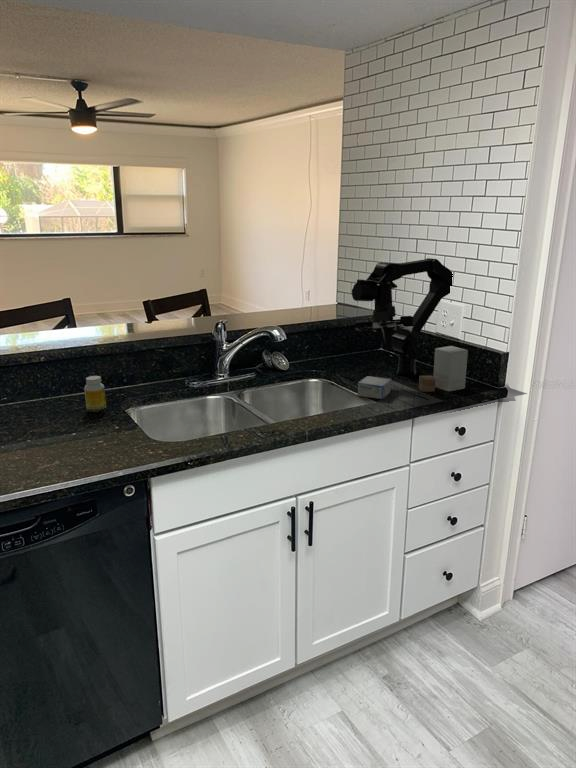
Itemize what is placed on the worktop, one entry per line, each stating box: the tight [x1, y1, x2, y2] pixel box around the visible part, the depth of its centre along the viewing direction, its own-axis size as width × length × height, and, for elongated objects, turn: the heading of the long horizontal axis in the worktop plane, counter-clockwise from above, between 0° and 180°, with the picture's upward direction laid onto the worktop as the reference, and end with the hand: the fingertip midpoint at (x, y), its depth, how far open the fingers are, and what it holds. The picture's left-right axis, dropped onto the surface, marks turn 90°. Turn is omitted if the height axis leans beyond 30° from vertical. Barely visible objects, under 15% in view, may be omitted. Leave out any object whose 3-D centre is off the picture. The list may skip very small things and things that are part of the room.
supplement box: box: [432, 345, 469, 392], centre depth 179 cm, size 7×7×13 cm
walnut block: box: [418, 375, 436, 393], centre depth 178 cm, size 4×4×4 cm
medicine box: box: [357, 375, 392, 400], centre depth 173 cm, size 8×4×9 cm
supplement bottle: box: [83, 375, 107, 411], centre depth 159 cm, size 5×5×10 cm
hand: (385, 349), depth 183 cm, fingers closed
